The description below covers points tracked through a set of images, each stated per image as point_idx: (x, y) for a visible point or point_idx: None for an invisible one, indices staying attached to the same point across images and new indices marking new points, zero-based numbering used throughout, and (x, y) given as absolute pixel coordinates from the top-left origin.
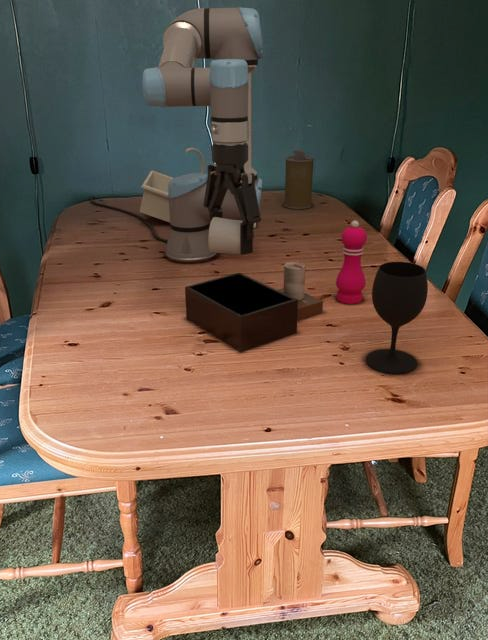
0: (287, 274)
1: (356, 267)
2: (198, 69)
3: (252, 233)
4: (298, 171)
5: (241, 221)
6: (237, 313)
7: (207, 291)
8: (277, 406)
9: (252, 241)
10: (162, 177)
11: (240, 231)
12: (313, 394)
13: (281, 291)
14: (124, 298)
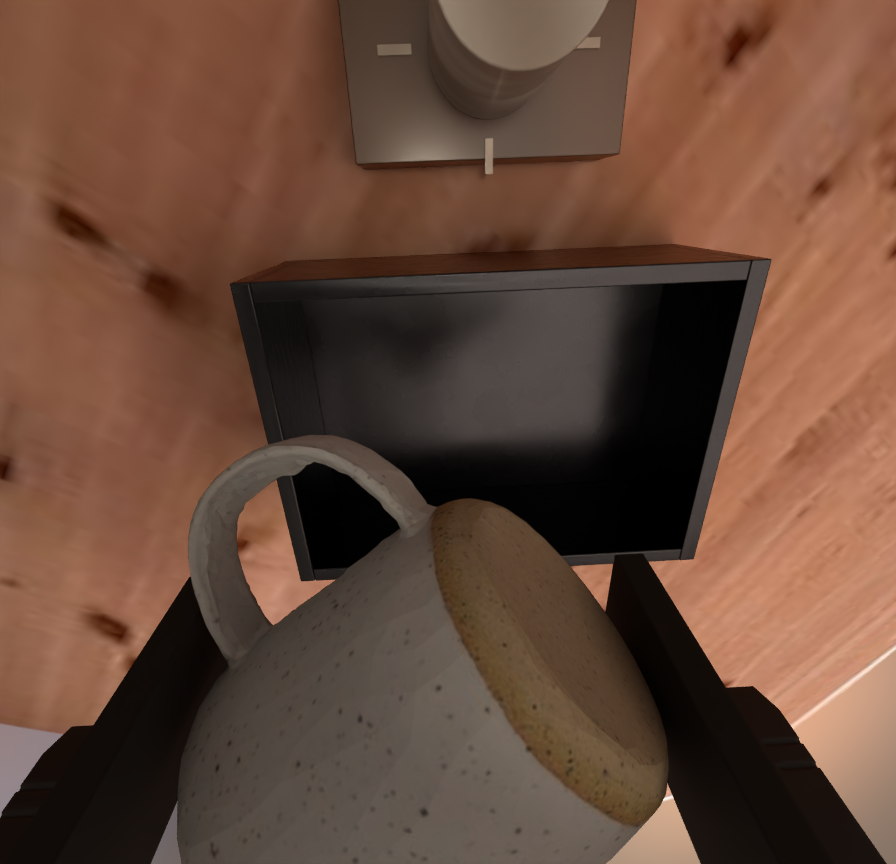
0: (525, 83)
1: None
2: None
3: (804, 760)
4: None
5: (559, 848)
6: (659, 551)
7: (307, 470)
8: (888, 546)
9: (690, 631)
10: None
11: (692, 835)
12: None
13: (382, 55)
14: (70, 576)
